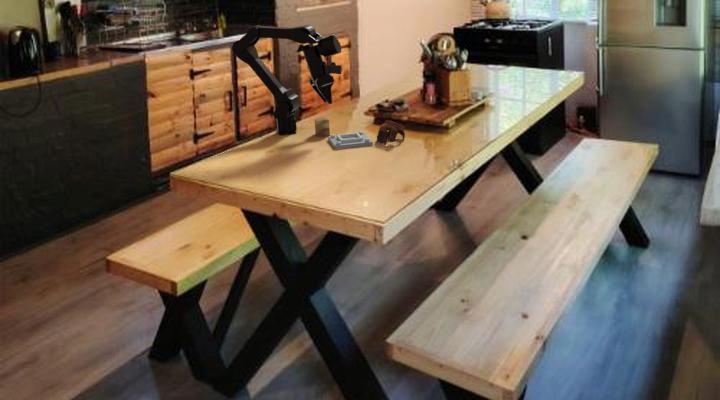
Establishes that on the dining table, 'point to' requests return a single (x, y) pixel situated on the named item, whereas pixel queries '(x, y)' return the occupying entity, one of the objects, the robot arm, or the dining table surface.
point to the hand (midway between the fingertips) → (328, 102)
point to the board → (349, 140)
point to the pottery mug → (390, 132)
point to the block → (322, 127)
